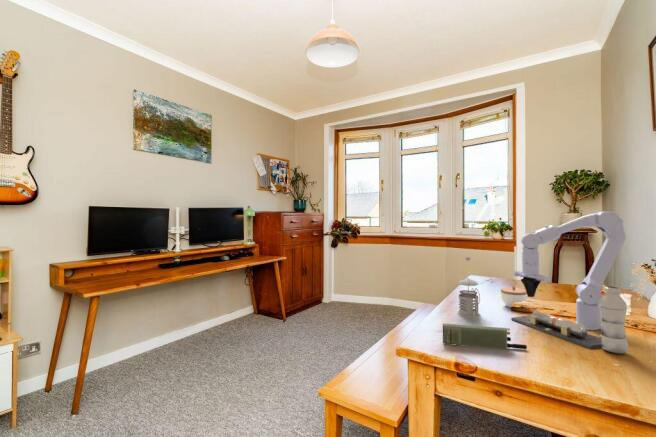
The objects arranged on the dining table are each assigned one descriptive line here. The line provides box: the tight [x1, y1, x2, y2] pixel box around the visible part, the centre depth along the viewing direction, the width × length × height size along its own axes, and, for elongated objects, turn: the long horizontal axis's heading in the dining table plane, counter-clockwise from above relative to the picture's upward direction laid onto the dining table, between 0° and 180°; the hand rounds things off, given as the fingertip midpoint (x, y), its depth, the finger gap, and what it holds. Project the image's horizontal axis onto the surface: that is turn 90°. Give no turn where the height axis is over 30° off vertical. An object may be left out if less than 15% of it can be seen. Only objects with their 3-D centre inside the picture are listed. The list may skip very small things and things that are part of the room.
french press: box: [456, 256, 482, 319], centre depth 137 cm, size 10×12×25 cm
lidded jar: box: [500, 286, 528, 309], centre depth 149 cm, size 11×11×9 cm
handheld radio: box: [442, 323, 528, 351], centre depth 105 cm, size 7×3×25 cm
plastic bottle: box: [599, 285, 629, 354], centre depth 99 cm, size 6×7×20 cm
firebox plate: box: [511, 313, 602, 350], centre depth 117 cm, size 10×30×4 cm, turn 16°
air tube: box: [530, 310, 589, 337], centre depth 116 cm, size 18×4×4 cm, turn 17°
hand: (530, 296), depth 130 cm, fingers closed
